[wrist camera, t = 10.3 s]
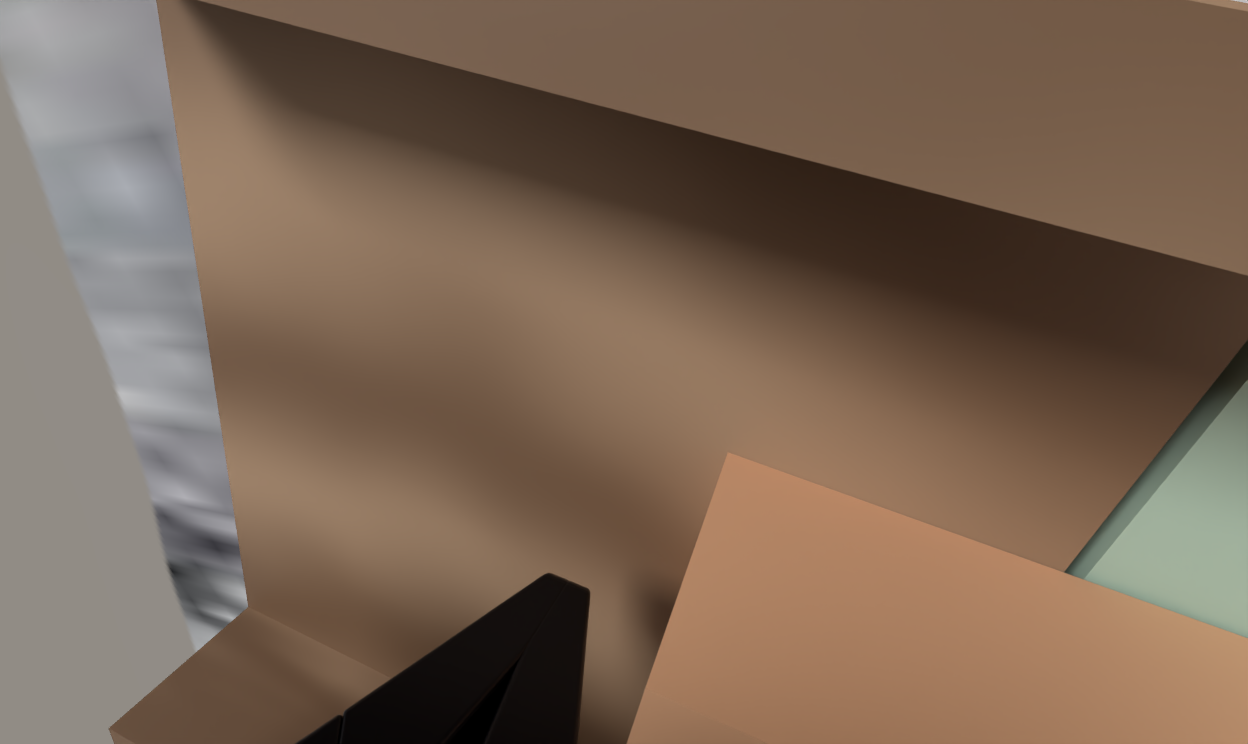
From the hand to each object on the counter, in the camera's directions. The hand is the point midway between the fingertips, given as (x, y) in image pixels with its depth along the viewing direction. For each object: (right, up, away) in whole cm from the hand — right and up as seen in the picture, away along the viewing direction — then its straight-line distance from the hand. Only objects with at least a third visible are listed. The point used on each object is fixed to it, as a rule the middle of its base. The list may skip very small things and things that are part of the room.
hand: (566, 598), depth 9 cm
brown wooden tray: (0, +1, +3) cm, 3 cm away
